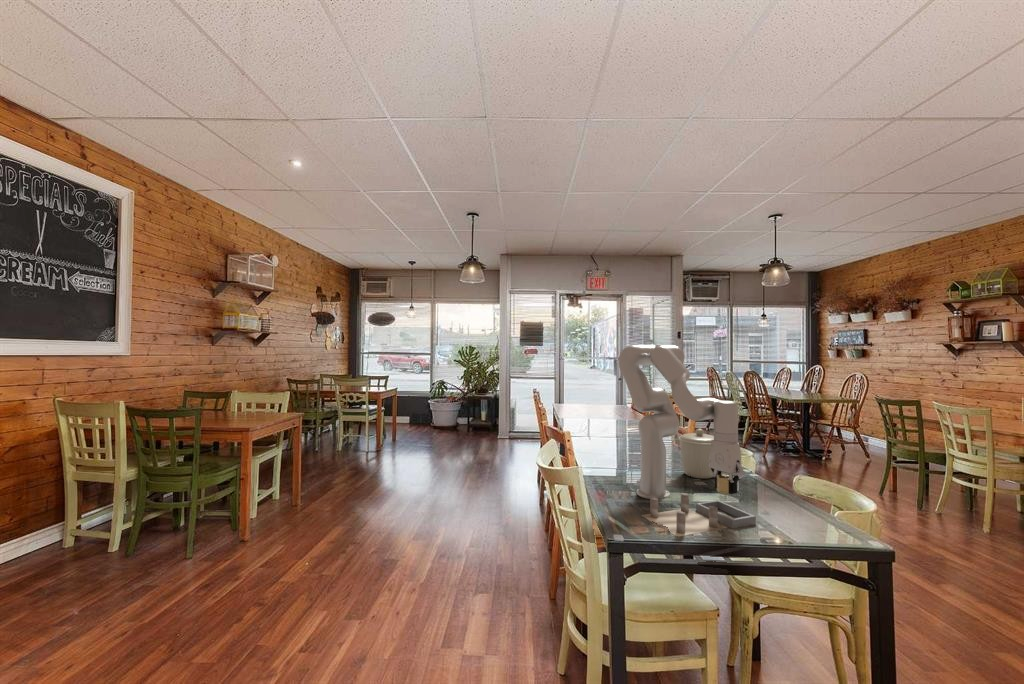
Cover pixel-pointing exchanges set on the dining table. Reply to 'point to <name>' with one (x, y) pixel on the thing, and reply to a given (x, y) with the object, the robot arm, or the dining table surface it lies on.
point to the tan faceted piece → (723, 484)
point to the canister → (696, 454)
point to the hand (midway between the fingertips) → (725, 490)
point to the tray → (742, 516)
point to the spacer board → (689, 522)
